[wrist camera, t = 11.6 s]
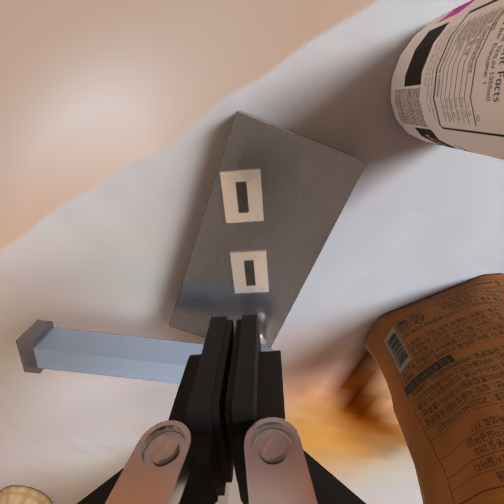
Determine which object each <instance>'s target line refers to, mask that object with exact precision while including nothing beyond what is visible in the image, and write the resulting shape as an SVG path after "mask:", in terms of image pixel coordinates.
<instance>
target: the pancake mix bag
mask: <svg viewBox="0 0 504 504" xmlns="http://www.w3.org/2000/svg"><path fill="white" fill-rule="evenodd" d="M364 346H365V347H366V349H367V350H368V351H369V352H370V354H371V355H372V356H373V358H374V359H375V361H376V362H377V364H378V365H379V367H380V369H381V371H382V373H383V375H384V377H385V379H386V382H387V384H388V387H389V390H390V393H391V396H392V402H393V407H394V412H395V414H396V417H397V420H398V422H399V425H400V427H401V430H402V433H403V435H404V438H405V441H406V443H407V446H408V449H409V451H410V454H411V456H412V459H413V462H414V464H415V469H416V473H417V477H418V481H419V486H420V490H421V495H422V500H423V504H504V274H502V273H497V274H485V275H481V276H479V277H476V278H474V279H471V280H469V281H467V282H464V283H462V284H459V285H457V286H454V287H452V288H450V289H447V290H444V291H442V292H439V293H437V294H435V295H432V296H430V297H428V298H425V299H423V300H421V301H418V302H416V303H413V304H411V305H408V306H406V307H403V308H400V309H397V310H394V311H392V312H389V313H387V314H384V315H382V316H381V317H380V318H379V319H378V320H377V321H376V322H375V323H374V325H373V326H372V328H371V330H370V332H369V334H368V336H367V339H366V342H365V345H364Z"/></svg>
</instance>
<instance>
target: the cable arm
mask: <svg viewBox="0 0 504 504" xmlns="http://www.w3.org/2000/svg"><path fill="white" fill-rule="evenodd" d="M16 343H17V347H18V350H19V354H20V357H21V361H22V364H23V368H24V371H25V372H31V373H41V371H42V370H43V369H52V370H61V371H70V372H79V373H88V374H97V375H106V376H115V377H123V378H132V379H141V380H150V381H159V382H168V383H177V384H180V383H181V379H182V376H183V373H184V370H185V367H186V364H187V361H188V358H189V356H190V355H196V354H202V350H203V346H204V344H196V343H187V342H179V341H170V340H161V339H152V338H143V337H135V336H126V335H117V334H108V333H99V332H91V331H82V330H73V329H64V328H55V327H53V322H52V321H43V320H37V321H36V322H35V323H34V324H33V325H32V326H31V327H30V328H29V329H28V330H27V331H26V332H25V333H23V334H22V335H21V336H20V337H19V338H18V339H17V340H16ZM261 351H273V350H272V349H271V348H269V347H268V346H266V345H264V344H261Z"/></svg>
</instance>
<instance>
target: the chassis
mask: <svg viewBox="0 0 504 504" xmlns="http://www.w3.org/2000/svg"><path fill="white" fill-rule="evenodd" d="M365 165H366V163H365V162H363V161H361V160H359V159H358V158H356V157H354V156H351V155H349V154H346V153H344V152H341V151H339V150H336V149H334V148H331V147H329V146H326V145H324V144H321V143H319V142H317V141H314V140H312V139H309V138H307V137H304V136H302V135H299V134H297V133H294V132H292V131H289V130H287V129H284V128H282V127H279V126H277V125H274V124H272V123H269V122H267V121H265V120H262V119H260V118H257V117H255V116H252V115H250V114H247V113H245V112H242V111H236V115H235V118H234V121H233V124H232V127H231V130H230V134H229V137H228V140H227V143H226V146H225V149H224V153H223V156H222V159H221V162H220V165H219V169H218V172H217V175H216V178H215V181H214V184H213V188H212V191H211V194H210V197H209V200H208V203H207V207H206V210H205V213H204V216H203V219H202V223H201V226H200V229H199V232H198V235H197V238H196V242H195V245H194V248H193V251H192V254H191V257H190V261H189V264H188V267H187V270H186V273H185V276H184V280H183V283H182V286H181V289H180V292H179V296H178V299H177V302H176V305H175V308H174V311H173V315H172V318H171V321H170V324H169V326H170V327H173V328H176V329H179V330H183V331H186V332H189V333H192V334H195V335H199V336H202V337H205V338H206V335H207V331H208V328H209V324H210V320H211V317H218V316H227V318H228V320H233V323H234V330H235V329H236V321H237V319H242V316H243V315H255V314H257V315H258V322H259V332H260V342H261V344H264V345H266V346H268V347H269V348H271V346H272V344H273V342H274V340H275V338H276V337H277V335H278V333H279V331H280V329H281V327H282V325H283V323H284V321H285V319H286V317H287V315H288V313H289V311H290V310H291V308H292V306H293V304H294V302H295V300H296V298H297V296H298V294H299V292H300V290H301V288H302V286H303V284H304V283H305V281H306V279H307V277H308V275H309V273H310V271H311V269H312V267H313V265H314V263H315V261H316V259H317V258H318V256H319V254H320V252H321V250H322V248H323V246H324V244H325V242H326V240H327V238H328V236H329V234H330V232H331V231H332V229H333V227H334V225H335V223H336V221H337V219H338V217H339V215H340V213H341V211H342V209H343V207H344V205H345V204H346V202H347V200H348V198H349V196H350V194H351V192H352V190H353V188H354V186H355V184H356V182H357V180H358V179H359V177H360V175H361V173H362V171H363V169H364V167H365Z"/></svg>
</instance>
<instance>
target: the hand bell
mask: <svg viewBox="0 0 504 504" xmlns="http://www.w3.org/2000/svg"><path fill="white" fill-rule="evenodd" d="M0 504H52V503H51V501H50V500H49V498H48V497H47V496H46V495H44V494H43V493H41V492H39V491H38V490H35V489H32V488H29V487H25V486H9V487H6V488H4V489H3V490H2V491H1V492H0Z"/></svg>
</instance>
